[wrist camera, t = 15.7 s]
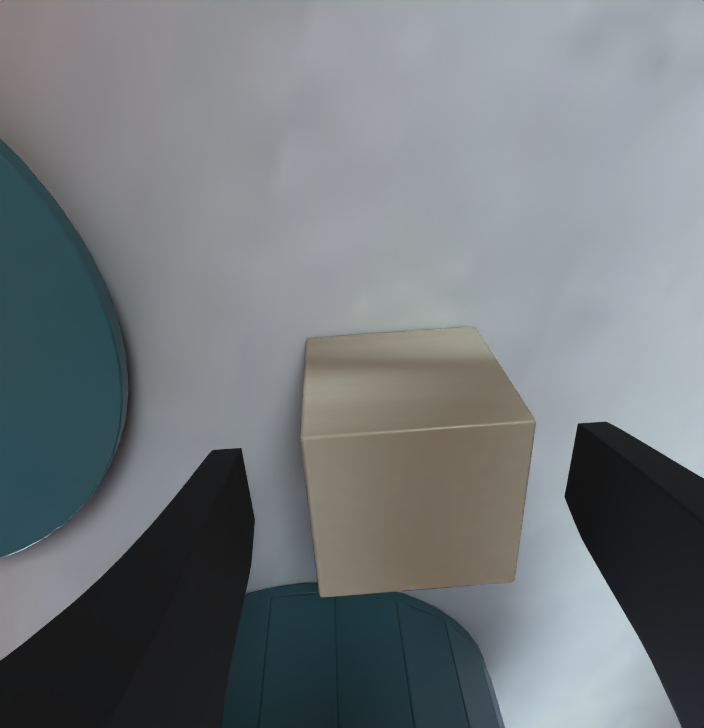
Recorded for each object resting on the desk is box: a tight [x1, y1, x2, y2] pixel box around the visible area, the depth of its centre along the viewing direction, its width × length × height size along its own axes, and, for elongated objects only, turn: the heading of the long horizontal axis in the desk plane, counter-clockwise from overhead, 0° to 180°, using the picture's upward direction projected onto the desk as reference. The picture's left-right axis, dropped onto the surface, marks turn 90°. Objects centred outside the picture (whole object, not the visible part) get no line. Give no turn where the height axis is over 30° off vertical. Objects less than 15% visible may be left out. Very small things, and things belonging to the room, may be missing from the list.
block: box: [300, 327, 536, 598], centre depth 12 cm, size 4×4×4 cm
